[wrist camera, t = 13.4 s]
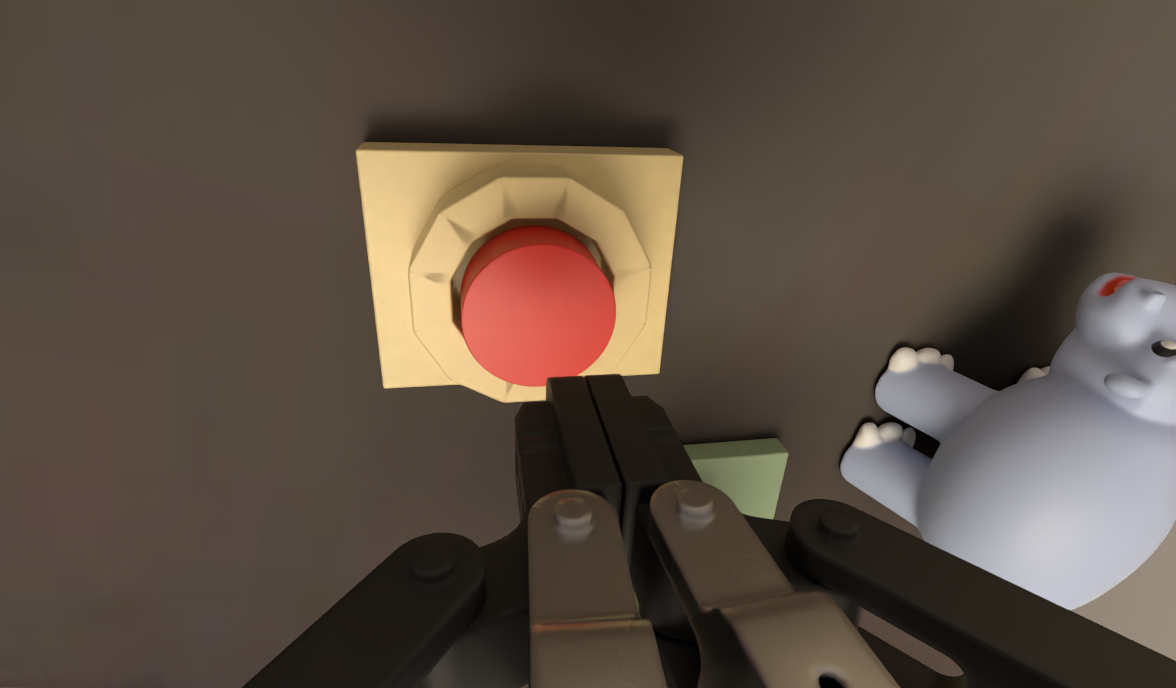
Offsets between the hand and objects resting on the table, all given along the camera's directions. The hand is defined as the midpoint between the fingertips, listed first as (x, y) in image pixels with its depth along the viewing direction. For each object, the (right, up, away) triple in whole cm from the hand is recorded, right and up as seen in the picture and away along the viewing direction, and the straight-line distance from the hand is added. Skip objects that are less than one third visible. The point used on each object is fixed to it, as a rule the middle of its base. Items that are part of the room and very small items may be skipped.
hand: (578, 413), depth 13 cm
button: (-1, +3, +6) cm, 7 cm away
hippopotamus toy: (+18, -1, +16) cm, 24 cm away
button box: (-2, +4, +9) cm, 10 cm away
